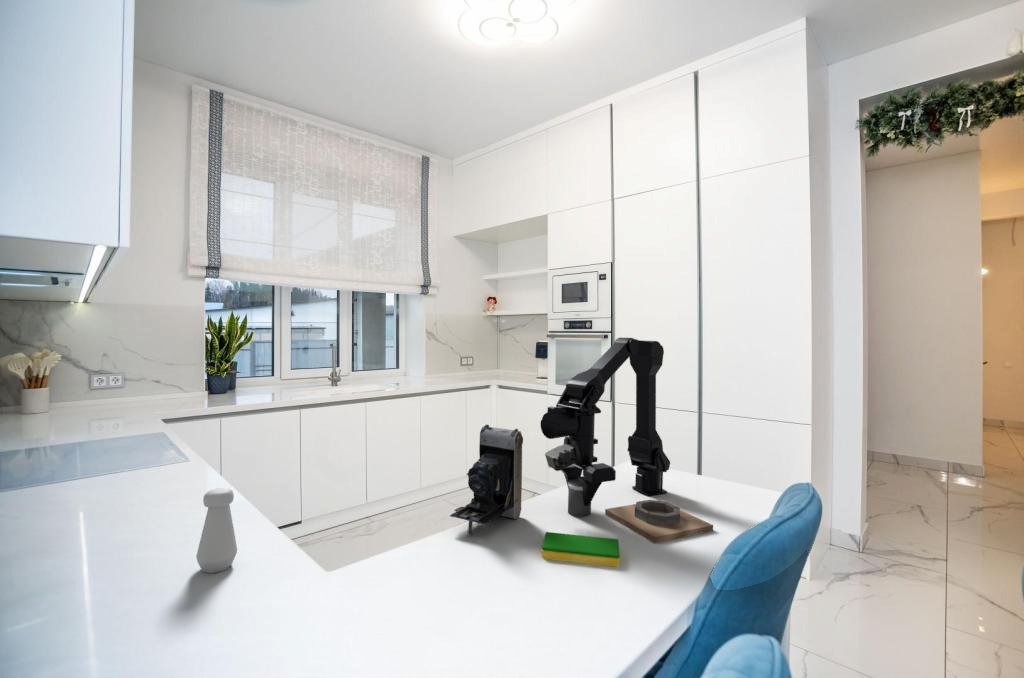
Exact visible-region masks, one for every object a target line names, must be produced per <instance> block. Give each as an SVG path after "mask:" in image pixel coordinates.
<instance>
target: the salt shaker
mask: <svg viewBox="0 0 1024 678" xmlns="http://www.w3.org/2000/svg"><path fill="white" fill-rule="evenodd" d="M234 495H235V494H234V491H233V490H232V489H231V488H229V487H219V488H213V489H210V490H208V491H207V492H206V493H205V494H204V495H203V499H202V502H203V506H204V507H206V508H207V511H206V515H205V518H204V519H205V520H204V524H203V528H202V531H201V536H200V539H199V544H198V548H197V551H196V552H197V553H196V556H195V557H196V562H197V563H198V564H197V565H198V566H199V567H200V569H201V571H202V573H205V572H207V573H206V574H212V573H213V574H215V572H217V573H220V572H223V571H226V570H227V569H228V568H229V566H230V565H231V566H232V565H233V563H234V560H235V558H236V556H237V554H238V547H237V546H238V545H237V541H236V534H235V529H234V528H235V527H234V522H233V517H232V510H231V504H232V503H233V501H234ZM231 566H230V567H231ZM219 571H220V572H219Z"/></svg>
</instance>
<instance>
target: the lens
mask: <svg viewBox="0 0 1024 678" xmlns="http://www.w3.org/2000/svg"><path fill="white" fill-rule="evenodd" d="M568 486H569V489H567V490H568V494H567V495H568V496H567V514H568V515H570V516H571V517H576V518H587V517H590V516H591V515H592V502H591V503H590V505H589V506H584V500H583V484H582V482H581V481H580V480H579V479H572V480H569V482H568ZM568 486H567V487H568Z"/></svg>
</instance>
